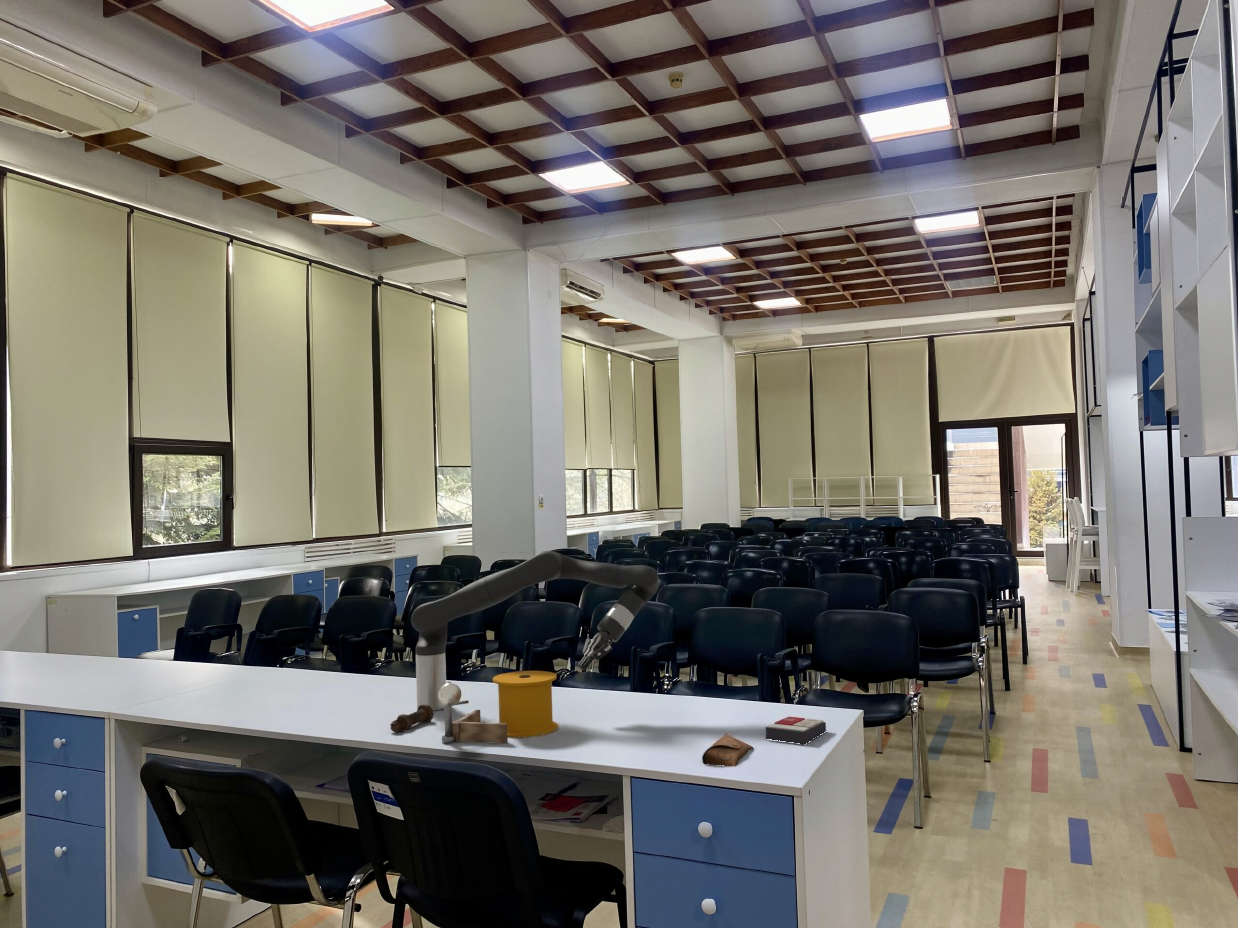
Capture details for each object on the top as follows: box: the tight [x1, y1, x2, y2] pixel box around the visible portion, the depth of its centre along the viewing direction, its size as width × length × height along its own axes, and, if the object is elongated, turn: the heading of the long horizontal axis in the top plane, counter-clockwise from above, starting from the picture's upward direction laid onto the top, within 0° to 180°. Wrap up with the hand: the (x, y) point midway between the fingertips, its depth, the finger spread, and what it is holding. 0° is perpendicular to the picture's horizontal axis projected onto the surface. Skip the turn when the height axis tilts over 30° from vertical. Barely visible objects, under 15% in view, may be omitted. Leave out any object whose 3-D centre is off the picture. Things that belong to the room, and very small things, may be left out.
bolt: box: [389, 705, 435, 733], centre depth 260 cm, size 6×5×15 cm
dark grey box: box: [765, 716, 827, 744], centre depth 236 cm, size 11×4×15 cm
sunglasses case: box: [701, 732, 754, 768], centre depth 220 cm, size 18×7×7 cm
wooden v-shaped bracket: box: [452, 709, 509, 744], centre depth 245 cm, size 12×22×5 cm, turn 30°
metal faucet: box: [438, 681, 470, 744], centre depth 242 cm, size 9×4×16 cm, turn 120°
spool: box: [492, 670, 559, 738], centre depth 253 cm, size 18×18×15 cm
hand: (581, 668), depth 262 cm, fingers closed
